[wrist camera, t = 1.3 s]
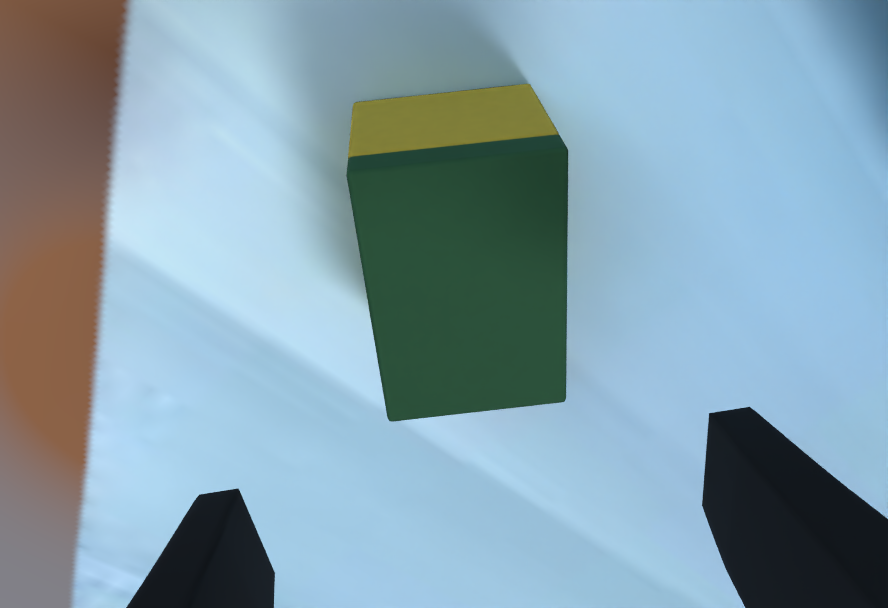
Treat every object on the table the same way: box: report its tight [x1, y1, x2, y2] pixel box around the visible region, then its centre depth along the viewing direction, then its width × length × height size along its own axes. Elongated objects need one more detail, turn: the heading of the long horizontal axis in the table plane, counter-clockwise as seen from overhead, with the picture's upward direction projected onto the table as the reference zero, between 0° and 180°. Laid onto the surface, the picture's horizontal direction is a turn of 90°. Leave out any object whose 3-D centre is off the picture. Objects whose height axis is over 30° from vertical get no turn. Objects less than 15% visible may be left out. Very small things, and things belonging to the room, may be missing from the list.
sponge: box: [347, 84, 568, 421], centre depth 16 cm, size 4×6×4 cm, turn 5°
